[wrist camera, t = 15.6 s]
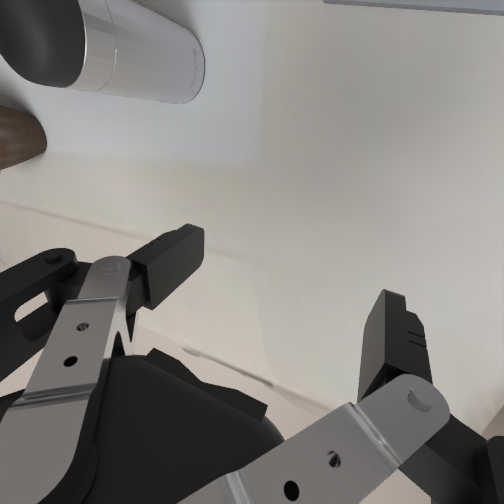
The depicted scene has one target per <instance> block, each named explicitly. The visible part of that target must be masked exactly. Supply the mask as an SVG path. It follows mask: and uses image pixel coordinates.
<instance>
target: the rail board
mask: <svg viewBox="0 0 504 504" xmlns="http://www.w3.org/2000/svg"><path fill="white" fill-rule="evenodd" d="M323 1H324V3H331V4H346V5H360V6H375V7H389V8H404V9H418V10H433V11H447V12H462V13H476V14H491V15H504V0H323Z"/></svg>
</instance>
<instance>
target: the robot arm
mask: <svg viewBox="0 0 504 504" xmlns="http://www.w3.org/2000/svg"><path fill="white" fill-rule="evenodd" d="M0 54H1V55H2V56H3V58H4V59H5V61H6V62H7V63H8V64H9V66H10V67H11V68H12V69H13V70H14V71H15V72H16V73H18V74H19V75H20V76H22V77H23V78H24V79H26V80H28V81H31V82H33V83H36V84H40V85H45V86H52V87H60V88H68V89H75V90H82V91H91V92H98V93H105V94H112V95H119V96H127V97H134V98H141V99H148V100H155V101H161V102H169V103H176V104H184V103H187V102H189V101H190V100H192V99H193V98H194V97H195V96H196V95H197V93H198V92H199V90H200V88H201V85H202V82H203V78H204V64H205V63H204V56H203V52H202V49H201V46H200V44H199V42H198V40H197V38H196V37H195V36H194V34H193V33H192V32H190V31H189V30H188V29H186V28H184V27H182V26H180V25H178V24H177V23H175V22H173V21H171V20H169V19H167V18H165V17H163V16H161V15H159V14H157V13H155V12H153V11H151V10H149V9H147V8H145V7H143V6H141V5H139V4H137V3H135V2H133V1H131V0H0ZM203 258H204V230H203V228H201V227H198V226H195V225H192V224H185V225H184V226H182V227H181V228H179V229H177V230H173V231H170V232H166V233H164V234H162V235H160V236H159V237H157V238H156V239H154V240H152V241H151V242H150V243H149V244H146V245H144V246H143V247H141V248H140V249H138V250H136V251H135V252H133V253H132V254H130V255H128V256H127V257H122V256H108V257H104V258H101V259H99V260H97V261H95V262H94V263H87V262H79V261H77V258H76V255H75V252H74V251H73V250H71V249H67V248H55V249H50V250H46V251H43V252H41V253H39V254H37V255H35V256H33V257H31V258H29V259H27V260H25V261H23V262H21V263H19V264H17V265H15V266H13V267H11V268H9V269H7V270H5V271H3V272H1V273H0V382H1V381H2V380H3V379H5V378H6V377H7V376H8V375H10V374H11V373H12V372H13V371H15V370H16V369H17V368H18V367H20V366H21V365H22V364H24V363H25V362H26V361H27V360H28V359H30V358H31V357H32V356H33V355H35V354H36V353H37V352H39V351H40V350H41V349H42V348H44V349H43V352H42V354H41V356H40V359H39V361H38V363H37V365H36V367H35V369H34V371H33V374H32V376H31V378H30V380H29V382H28V384H27V387H26V388H25V389H22V390H20V391H17V392H14V393H11V394H8V395H5V396H2V397H0V504H359V503H360V502H361V501H362V500H363V499H364V498H366V497H367V496H368V495H369V494H370V493H371V492H372V491H373V490H374V489H376V487H378V486H379V485H380V484H381V483H382V482H383V481H384V480H385V479H387V478H388V477H389V476H390V475H391V474H392V473H393V472H394V471H395V470H397V469H399V470H400V471H401V472H403V473H404V474H405V475H406V476H407V477H408V478H409V479H411V480H412V481H413V482H414V483H415V484H416V485H417V486H419V487H420V488H421V489H422V490H423V491H424V492H425V493H427V494H428V495H429V496H430V497H431V504H504V436H494V437H492V438H490V439H489V440H486V439H485V438H483V437H482V436H480V435H479V434H478V433H476V432H475V431H473V430H472V429H470V428H469V427H467V426H466V425H465V424H463V423H462V422H460V421H459V420H458V419H456V418H455V417H454V416H453V415H452V414H451V413H450V410H449V406H448V404H447V402H446V400H445V398H444V397H443V395H442V394H441V393H440V392H439V391H438V390H437V389H436V388H435V387H434V386H433V382H432V376H431V370H430V364H429V357H428V351H427V349H426V347H427V345H426V339H425V333H424V326H423V324H422V323H421V321H420V320H419V318H418V317H417V315H416V314H415V313H412V312H409V311H406V302H405V296H403V295H400V294H397V293H394V292H391V291H388V290H385V289H383V290H382V291H381V293H380V295H379V297H378V299H377V301H376V303H375V305H374V307H373V309H372V311H371V312H370V314H369V316H368V319H367V321H366V324H365V328H364V335H363V345H362V356H361V366H360V377H359V387H358V398H357V403H356V404H354V405H353V404H352V403H351V402H348V403H346V404H344V405H342V406H340V407H339V408H337V409H335V410H334V411H332V412H331V413H329V414H327V415H326V416H324V417H323V418H321V419H320V420H318V421H316V422H315V423H314V424H312V425H310V426H308V427H307V428H305V429H304V430H302V431H301V432H299V433H297V434H296V435H294V436H293V437H291V438H289V439H288V440H286V441H285V440H284V438H283V436H282V435H281V433H280V432H279V431H278V429H277V428H276V427H275V425H274V424H273V423H272V422H271V421H270V420H269V419H268V418H267V417H266V416H265V413H266V410H267V407H268V405H266V404H264V403H262V402H260V401H258V400H256V399H254V398H252V397H250V396H248V395H246V394H244V393H242V392H240V391H239V390H236V389H231V388H227V387H222V386H217V385H213V384H208V383H204V382H202V381H200V380H199V379H198V378H197V377H196V376H195V375H194V374H193V373H192V372H191V371H190V370H189V369H188V368H186V367H185V366H184V365H183V364H182V363H181V362H180V361H179V360H177V359H175V358H173V357H171V356H169V355H167V354H165V353H163V352H161V351H159V350H157V349H155V348H153V349H152V350H151V351H150V353H148V354H147V356H145V355H134V345H135V337H136V330H137V323H138V316H139V312H138V309H140V308H141V307H142V306H144V307H146V308H148V309H150V310H154V309H155V308H156V307H157V306H158V305H159V304H160V303H161V302H162V301H163V300H164V299H165V298H167V297H168V296H169V295H170V294H171V293H172V292H173V291H174V290H175V289H176V288H177V287H178V286H180V285H181V284H182V283H183V282H184V281H185V280H186V279H187V278H188V277H189V276H190V275H191V274H193V273H194V272H195V271H196V270H197V269H198V268H199V267H200V265H201V264H202V261H203ZM42 292H44V293H45V295H46V298H47V300H48V302H47V303H45V304H44V305H42V306H41V307H39V308H38V309H36V310H35V311H33V312H32V313H30V314H28V315H27V316H25V317H24V318H22V319H21V320H19V321H18V322H16V320H15V318H14V316H15V312H16V310H17V309H18V308H19V307H20V306H21V305H23V304H24V303H26V302H27V301H29V300H31V299H32V298H34V297H35V296H37V295H39V294H40V293H42Z"/></svg>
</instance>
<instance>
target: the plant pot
mask: <svg viewBox="0 0 504 504" xmlns="http://www.w3.org/2000/svg"><path fill="white" fill-rule="evenodd" d="M46 147H47V141H46V136H45V132H44V130H43V128H42V126H41V124H40V123H39V122H38V121H37V120H36V119H35V118H34V117H32V116H29V115H27V114H24V113H22V112H19V111H16V110H13V109H10V108H7V107H4V106H1V105H0V170H2V169H5V168H8V167H11V166H13V165H16V164H19V163H21V162H24V161H26V160H28V159H31V158H33V157H35V156H37V155H39V154H41V153H43V152H44V151H45V150H46Z"/></svg>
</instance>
